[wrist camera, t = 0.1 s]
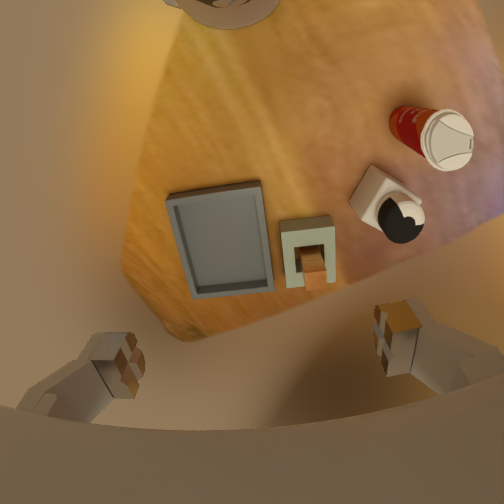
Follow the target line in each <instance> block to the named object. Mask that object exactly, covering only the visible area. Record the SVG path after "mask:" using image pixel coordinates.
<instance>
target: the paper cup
mask: <svg viewBox="0 0 504 504" xmlns="http://www.w3.org/2000/svg"><path fill="white" fill-rule="evenodd" d="M389 126H390V130H391V132H392V134H393V135H394V136H395V137H396V138H397V139H398V140H399V141H401V142H402V143H404V144H405V145H407V146H408V147H410V148H411V149H413V150H414V151H416V152H417V153H419V154H420V155H422V156H423V157H425V158H426V159H427V160H428V162H429V163H430V164H431V165H432V166H433V167H435V168H436V169H438V170H441V171H451V170H457V169H459V168H461V167H463V166H464V165H465V164H466V163H467V162H468V161H469V160H470V158H471V156H472V149H473V143H474V140H473V136H474V134H473V131H472V128H471V126H470V125H469V123H468V122H467V121H466V119H465V118H464V117H463V116H462V115H461V114H460V113H458V112H456V111H454V110H450V109H443V110H434V109H427V108H419V107H408V106H403V107H399V108H397V109H396V110H394V111H393V113H392V114H391V116H390V120H389ZM472 135H473V136H472Z"/></svg>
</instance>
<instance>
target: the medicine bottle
mask: <svg viewBox="0 0 504 504" xmlns="http://www.w3.org/2000/svg"><path fill="white" fill-rule="evenodd" d="M349 203H350V205H351V206H352V208H353V209H354V210H355V212H356V213H357V215H358V216H359V218H360V219H361V220H362V221H363V222H365V223H367V224H369V225H371V226H373V227H375V228H377V229H378V230H380V231H382V232H384V233H385V235H386V236H387V237H388V239H389V240H391V241H392V242H394V243H399V244H403V243H407V242H410V241H412V240H413V239H415V238H416V237H417V236H418V235H419V233H420V232H421V230H422V228H423V226H424V221H425V216H424V212H423V210H422V208H421V207H420V204H421V203H422V199H421V198H420V197H418V196H417V195H416V194H415V193H414V192H412V191H411V190H410V189H409V188H408V187H406V186H405V185H404V184H402V183H401V182H399V181H398V180H396V179H395V178H393V177H391V176H390V175H388V174H387V173H385V172H383V171H382V170H380V169H378V168H377V167H375V166H373V165H370V166H369V168H368V170H367V171H366V173H365V175H364V177H363V178H362V180H361V182H360V183H359V185H358V187H357V188H356V190H355V192H354V194H353V195H352V197H351V199H350V200H349Z"/></svg>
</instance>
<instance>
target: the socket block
mask: <svg viewBox="0 0 504 504" xmlns="http://www.w3.org/2000/svg"><path fill="white" fill-rule="evenodd" d="M279 225H280V234H281V243H282V252H283V261H284V271H285V279H286V286H287V288H293V287H301V286H305V284H304V280H303V275H302V271H301V266H300V262H299V259H296V260H295V254H294V247H302V246H310V245H318V244H320V252H321V256H322V258H323V261H324V264H325V267H326V270H327V283H332V282H336V270H335V226H334V224H333V222H332V220H331V218H330V216H320V217H311V218H303V219H294V220H285V221H279Z"/></svg>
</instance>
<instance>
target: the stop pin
mask: <svg viewBox="0 0 504 504" xmlns="http://www.w3.org/2000/svg"><path fill="white" fill-rule="evenodd" d="M297 249H298V257H299V262H300V266H301V271H302V275H303V280H304V284H305V289H306V291H311V290H319V289H326V288H327V270H326V267H325V264H324V261H323V258H322V256H321V253H320V250H319V247H318V245H310V246H302V247H297Z"/></svg>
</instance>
